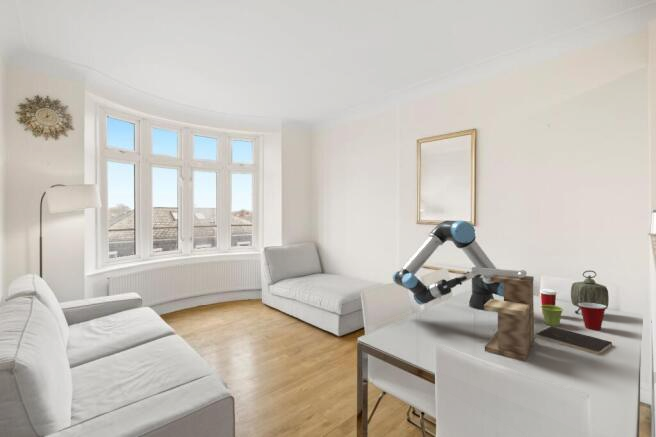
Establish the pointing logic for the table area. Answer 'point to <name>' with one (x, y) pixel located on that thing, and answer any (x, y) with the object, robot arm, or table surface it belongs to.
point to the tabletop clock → (589, 292)
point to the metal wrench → (500, 272)
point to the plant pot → (552, 314)
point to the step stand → (513, 318)
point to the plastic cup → (592, 315)
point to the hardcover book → (574, 340)
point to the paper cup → (548, 297)
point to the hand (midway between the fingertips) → (477, 271)
